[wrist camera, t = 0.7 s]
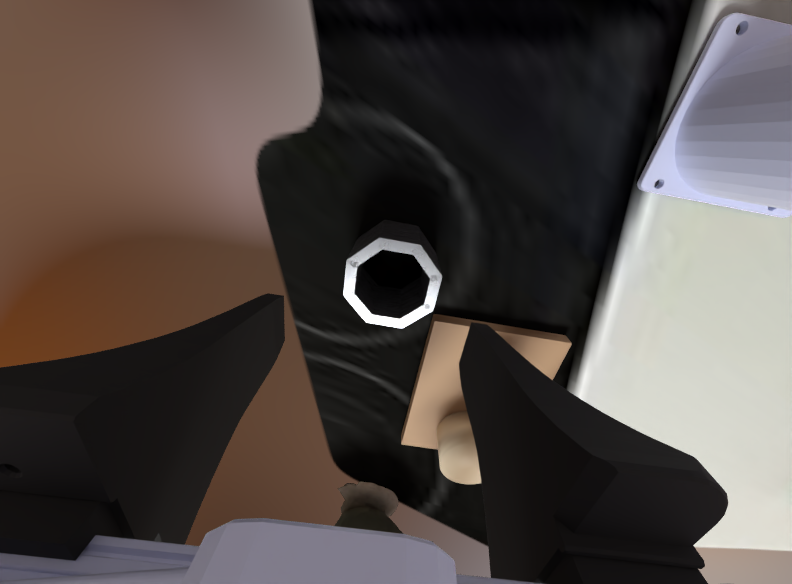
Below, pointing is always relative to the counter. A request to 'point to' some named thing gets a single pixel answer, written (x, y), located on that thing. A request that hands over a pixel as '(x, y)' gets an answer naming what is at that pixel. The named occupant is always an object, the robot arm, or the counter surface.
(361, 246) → the ring
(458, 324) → the board
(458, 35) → the counter surface
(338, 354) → the counter surface
